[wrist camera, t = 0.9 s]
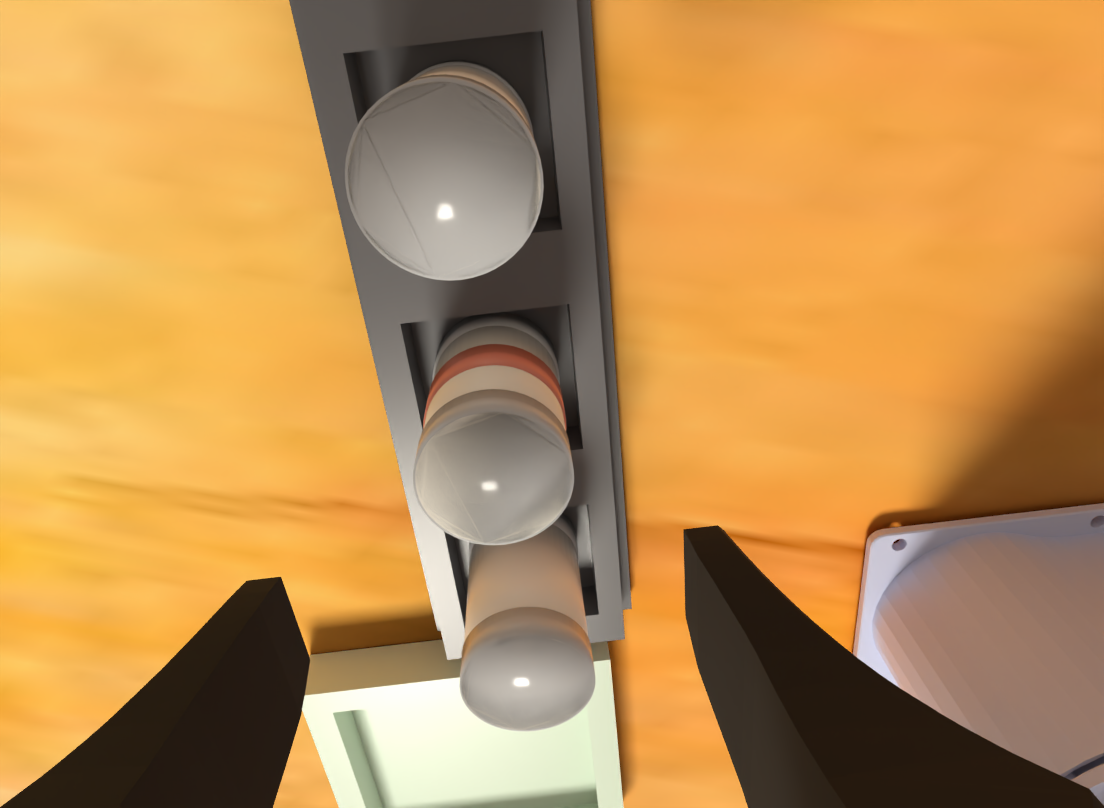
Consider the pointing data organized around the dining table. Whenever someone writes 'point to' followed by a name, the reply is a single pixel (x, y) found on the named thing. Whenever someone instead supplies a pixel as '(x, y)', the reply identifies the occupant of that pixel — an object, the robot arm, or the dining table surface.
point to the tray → (450, 737)
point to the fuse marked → (494, 433)
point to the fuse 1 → (446, 172)
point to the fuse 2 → (526, 632)
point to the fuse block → (516, 286)
